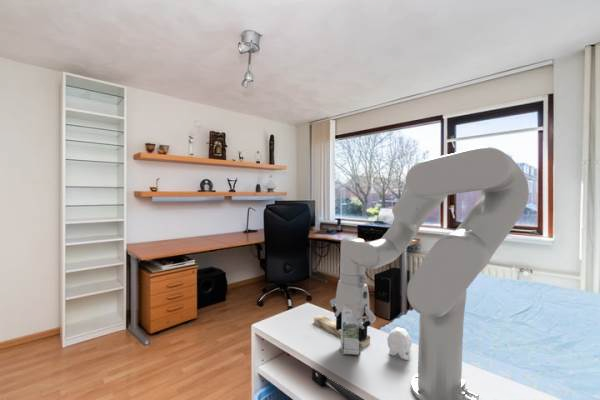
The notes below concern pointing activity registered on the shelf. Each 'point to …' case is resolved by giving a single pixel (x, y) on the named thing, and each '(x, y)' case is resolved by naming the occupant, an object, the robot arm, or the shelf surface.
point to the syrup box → (349, 333)
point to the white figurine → (399, 342)
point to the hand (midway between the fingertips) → (350, 333)
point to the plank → (331, 327)
